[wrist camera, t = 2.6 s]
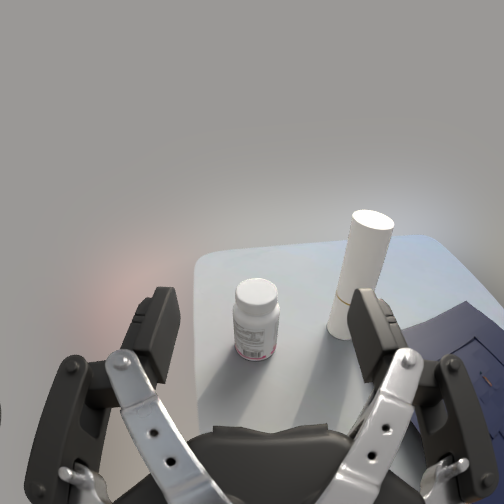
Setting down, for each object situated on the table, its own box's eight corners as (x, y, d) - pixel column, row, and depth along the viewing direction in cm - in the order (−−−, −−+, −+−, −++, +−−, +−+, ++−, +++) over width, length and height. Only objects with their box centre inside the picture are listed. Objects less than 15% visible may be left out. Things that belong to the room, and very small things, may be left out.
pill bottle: (258, 324, 33) (260, 269, 29) (284, 348, 30) (292, 293, 26) (226, 342, 31) (221, 287, 26) (251, 369, 28) (252, 315, 23)
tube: (336, 344, 30) (370, 231, 22) (321, 320, 34) (344, 211, 26) (365, 334, 31) (402, 227, 23) (348, 312, 35) (376, 208, 27)
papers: (468, 545, 5) (492, 537, 3) (349, 359, 31) (355, 338, 29) (563, 420, 9) (578, 403, 8) (461, 313, 36) (468, 295, 34)
